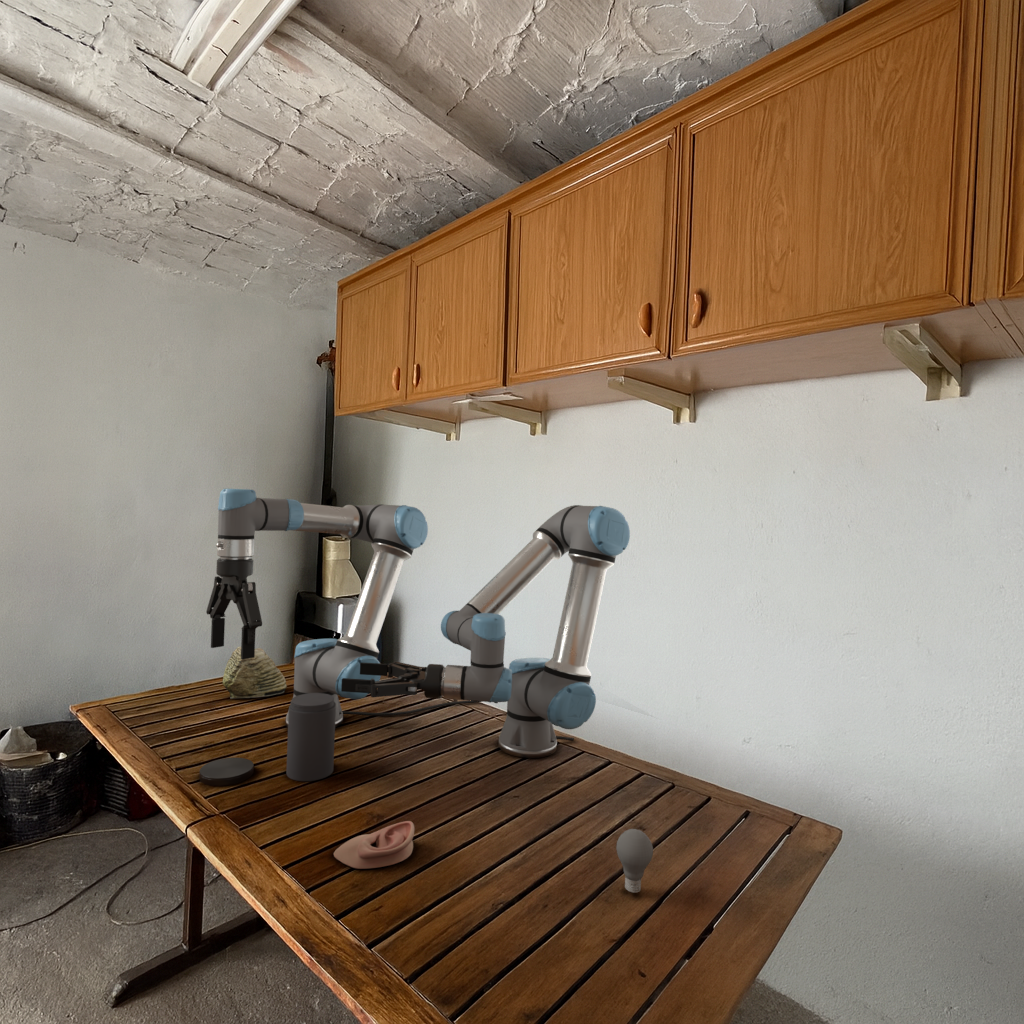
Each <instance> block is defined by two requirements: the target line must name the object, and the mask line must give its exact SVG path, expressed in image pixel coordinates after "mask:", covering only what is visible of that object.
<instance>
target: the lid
mask: <svg viewBox="0 0 1024 1024" xmlns="http://www.w3.org/2000/svg"><path fill="white" fill-rule="evenodd" d="M254 765H255V764H254V762H253V761H252V760H251V759H248V758H245V757H225V758H224V757H223V758H220V759H215V760H212V761H210V762H207V763H205V764H204V765H203V766H201V768H200V769H199V776H198V777H199V778H198V779H199V782H200V783H202V784H204V785H207V786H210V787H211V786H212V787H224V786H232V785H236V784H240V783H242V782H245V781H246V780H248V779H250V778H251V777H252V776H253V774H254Z"/></svg>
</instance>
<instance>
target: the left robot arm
mask: <svg viewBox="0 0 1024 1024" xmlns="http://www.w3.org/2000/svg"><path fill="white" fill-rule="evenodd" d="M217 510H218V517H217V518H218V519H217V543H216V545H215V546H216V549H217V553H216V554H217V556H218V557H219V558H217V560H216V570H215V571H216V575H217V576H216V575H215V576H214V578H213V579H214V580H213V588H212V591H211V594H210V598H209V601H208V604H207V608H206V611H205V612H206V615H209V618H210V619H211V627H210V634H211V635H210V648H211V649H215V648H216V649H217V648H221V647H224V646H225V630H226V629H225V628H226V618H225V617H226V614H225V613H226V611H227V609H228V607H229V605H230V604H231V601H232V602H233V603H234V604H235V605H236V608H237V611H238V613H239V616H240V619H241V622H242V625H243V626H241V628H240V629H241V640H240V641H241V643H240V644H241V645H240V647H241V659H248V658H254V656H255V649H256V631H257V630H256V629H258V628H259V627H262V626H263V619H262V615H261V611H260V605H259V601H258V597H257V589H256V588H257V585H256V582H255V581H248V577H250V576H252V575H253V574H254V559H253V558H252V557H254V556H255V534H256V533H255V532H261V531H264V532H265V531H267V532H269V531H271V532H272V531H273V532H279V531H281V532H283V531H284V532H288V531H293V532H306V533H309V532H310V533H323V534H334V535H335V534H336V535H340V536H341V537H342V538H345V539H355V540H357V541H358V540H359V541H364V542H367V543H371V547H372V549H373V555H372V559H371V561H370V564H369V567H368V569H367V572H366V575H365V578H364V581H363V583H362V586H361V590H360V592H359V595H358V598H357V601H356V604H355V606H354V609H353V612H352V615H351V617H350V620H349V624H348V626H347V629H346V632H345V634H344V635H343V636H341V637H340V638H338V639H337V638H317V639H316V638H315V639H308V640H304V641H300V642H299V643H298V644H297V645H296V646H295V650H294V655H293V657H294V672H293V673H294V674H293V695H292V696H293V697H292V698H294V697H296V696H298V695H302V694H308V693H324V694H329V695H331V696H333V697H334V702H335V703H336V715H335V728H337V727H339V726H340V725H342V723H343V722H344V715H354V716H367V717H368V716H369V717H370V716H371V717H390V716H393V717H394V716H402V715H403V716H404V715H410V714H415V713H420V712H423V711H429V710H434V709H437V708H440V707H441V708H442V707H446V706H453V705H463V704H477V703H484V702H483V701H470V700H458V701H457V702H454V701H450V702H449V701H448V702H444V703H439V704H434V705H430V706H429V705H428V706H424V707H420V708H415V709H410V710H404V711H397V712H396V711H395V712H366V711H365V712H364V711H352V710H351V711H349V710H343V709H342V706H341V702H340V699H339V697H340V698H345V699H351V700H361V699H365V698H366V697H367V696H368V695H371V694H370V693H358V692H342V691H341V686H342V679H343V678H348V679H365V680H371V679H372V678H373V679H374V680H375V681H381V677H382V676H378V675H361V674H360V663H361V662H363V663H380V661H379V660H378V658H379V654H380V651H379V648H378V645H377V643H378V640H379V637H380V633H381V630H382V627H383V624H384V622H385V620H386V619H385V618H386V616H387V613H388V611H389V607H390V604H391V601H392V598H393V595H394V592H395V589H396V587H397V586H396V585H397V583H398V580H399V578H400V575H401V572H402V568H403V565H404V562H406V561H408V560H409V559H411V558H412V555H413V553H414V549H418V548H420V547H421V546H423V545H424V544H425V543H426V540H427V538H428V533H429V532H428V531H429V526H428V522H427V520H426V516H425V514H424V513H423V511H421V510H420V509H419V508H417V507H415V506H410V505H406V504H402V505H397V504H380V503H379V504H363V505H362V504H361V505H358V504H357V505H356V504H346V505H344V506H342V507H341V506H332V505H324V504H316V503H315V504H314V503H305V502H300V501H299V500H297V499H290V498H268V497H257V492H256V490H254V489H248V488H223V489H222V490H220V492H219V498H218V507H217ZM493 703H494V704H499V702H493ZM288 716H289V709H288V711H287V713H286V715H285V726H286V728H288Z"/></svg>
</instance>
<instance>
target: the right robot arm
mask: <svg viewBox="0 0 1024 1024" xmlns="http://www.w3.org/2000/svg"><path fill="white" fill-rule="evenodd" d="M630 534H631V530H630V525H629V522H628V521H627V519H626V517H625V515H624V514H623V513H622V512H621V511H620V510H618V509H616V508H614V507H609V506H605V505H581V504H574V505H569V506H566V507H564V508H562V509H560V510H559V511H557V512H556V513H554V514H553V515H552V516H550V517H549V518H548V519H546V521H544V522H543V523H542V524H541V525H540V526H539V527H538V528H537V529H535V531H534V532H533V533H532V539H530V541H529V542H528V543H527V544H526V545H525V546H524V547H523V548H522V549H521V550H520V551H519V552H518V553H517V554H515V556H514V557H513V558H511V560H510V561H509V562H508V563H507V564H505V565H504V567H503V568H501V569H500V571H498V572H497V573H496V574H495V575H494V576H493V577H492V578H491V579H490V580H489V581H488V582H487V583H486V584H485V585H484V586H483V587H482V588H481V589H480V590H479V591H478V592H477V593H476V594H475V595H474V596H473V597H472V598H471V599H470V600H469V601H468V602H467V603H466V604H465V605H464V606H463V607H462V608H460V610H451V611H449V612H447V613H446V614H445V615H444V616H443V618H442V619H441V623H440V632H441V633H442V636H443V637H444V638H445V639H446V640H448V641H450V642H451V643H452V644H454V645H458V646H460V647H463V648H464V649H466V650H468V651H470V665H458V664H447V665H444V664H436V663H429V664H428V665H427V666H419V665H414V664H409V663H406V662H405V663H404V662H400V661H395V660H394V661H393V662H390V663H381V662H379V663H363V662H361V663H360V674H361V675H378V676H381V677H387V678H388V679H380V680H379V681H375V680H374V679H373V678H372V679H371V680H365V679H348V678H343V679H342V686H341V691H342V692H358V693H370V694H369V695H370V698H381V697H395V696H405V695H406V696H407V695H408V696H416V695H418V691H419V690H422V691H423V692H424V694H423V695H424V697H425V698H426V699H435V700H436V699H438V700H441V699H442V698H443V699H445V700H453V702H457V701H470V700H471V701H483V702H482V703H494V702H498V703H506V717H505V721H504V723H503V725H502V728H501V730H500V734H499V737H498V748H499V749H500V751H502V752H504V753H505V754H507V755H511V756H513V757H517V758H526V759H539V758H544V757H548V756H551V755H553V754H554V753H556V751H557V749H558V740H561V741H562V740H563V741H570V742H574V741H575V738H574V737H571V736H570V737H569V736H563V735H556V732H555V728H554V727H559V728H561V729H564V730H575V729H579V728H580V727H582V726H583V725H584V723H586V722H588V721H589V719H590V718H591V717H592V715H593V713H594V711H595V708H596V705H597V704H596V703H597V697H596V694H595V691H594V689H593V687H592V686H591V685H590V684H591V679H592V672H591V670H590V669H589V668H588V662H589V658H590V653H591V648H592V642H593V638H594V633H595V628H596V624H597V619H598V614H599V609H600V604H601V599H602V596H603V590H604V585H605V581H606V575H607V571H608V570H609V569H610V568H612V567H613V566H614V565H615V562H616V557H617V556H619V555H620V554H622V553H623V552H624V551H625V550H626V549H627V547H628V546H629V543H630V539H631V538H630V537H631V535H630ZM566 553H568V554H567V555H568V557H569V559H570V560H571V563H572V565H571V570H570V574H569V579H568V583H567V588H566V592H565V597H564V598H565V599H564V602H563V607H562V612H561V616H560V621H559V625H558V630H557V634H556V640H555V644H554V648H553V653H552V657H551V658H546V657H523V658H522V657H521V658H516V659H514V660H512V661H511V662H510V663H509V666H508V668H507V667H505V664H504V662H505V661H504V658H505V645H506V642H505V641H506V634H507V633H506V619H505V618H504V616H503V615H501V613H502V612H503V611H504V610H505V609H506V608H507V607H508V606H509V605H510V604H511V602H513V600H515V599H516V598H517V597H518V596H519V595H520V594H521V592H523V591H524V590H525V589H526V588H527V587H528V586H529V585H530V583H531V582H532V581H534V580H535V579H536V578H537V576H539V574H541V573H542V572H543V571H544V569H546V567H547V566H549V565H550V564H551V562H552V561H554V560H555V561H556V560H557V561H558V560H560V559H561V558H562V557H563V556H564V555H565V554H566ZM393 677H394V678H393Z"/></svg>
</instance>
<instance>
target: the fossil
mask: <svg viewBox="0 0 1024 1024" xmlns="http://www.w3.org/2000/svg"><path fill="white" fill-rule="evenodd" d="M222 676H223V677H222V685H223V687H224V688H225V690H226V691H228V693H229V698H230V699H250V698H264V697H271V696H275V695H281V694H284V693H285V691H286V689H287V687H288V686H287V680H286V678H285V676H284V674H283V673H282V672H281V669H279V668H278V667H277V665H276V663H275V662H274V660H273V659H272V658H271V657H270V656H269V655H268V654H267V653H266V652H265V650H264V649H263V648H260V647H258V648H255V656H254V658H248V659H241V646H238V647H237V648H236V649H235V650H233V651H232V653H231V656H230V657H229V659H228V660H227V663H226V666H225V668H224V671H223V675H222Z"/></svg>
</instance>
